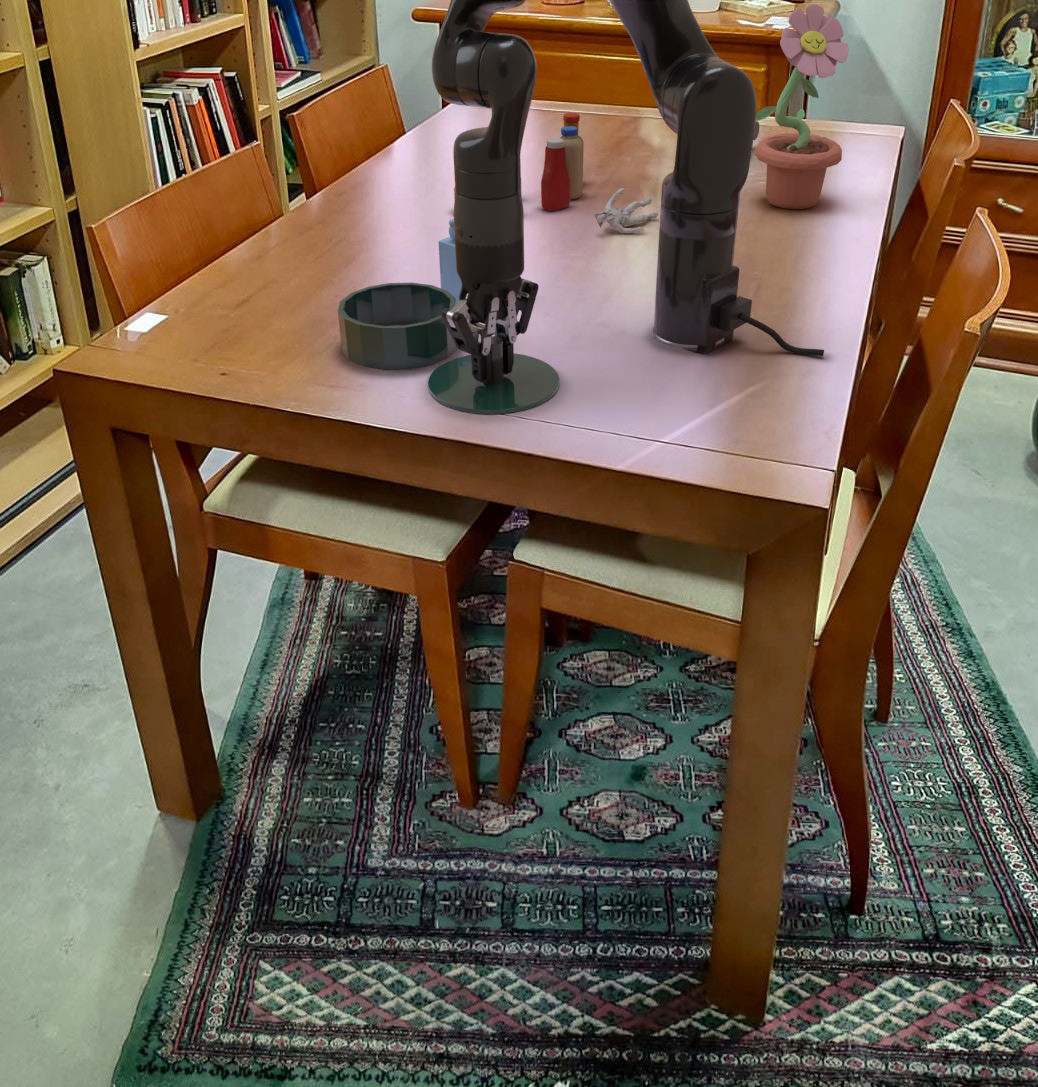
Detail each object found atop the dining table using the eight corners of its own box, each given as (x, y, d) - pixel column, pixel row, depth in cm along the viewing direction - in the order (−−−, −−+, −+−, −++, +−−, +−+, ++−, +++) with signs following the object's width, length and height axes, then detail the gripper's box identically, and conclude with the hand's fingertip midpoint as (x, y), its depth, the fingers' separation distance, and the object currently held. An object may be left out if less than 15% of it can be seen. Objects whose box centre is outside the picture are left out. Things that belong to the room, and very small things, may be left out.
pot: (481, 347, 142) (479, 302, 139) (395, 385, 134) (391, 338, 130) (405, 317, 151) (402, 274, 147) (320, 351, 142) (314, 306, 139)
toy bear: (484, 301, 155) (482, 217, 148) (463, 310, 152) (460, 224, 146) (462, 293, 157) (458, 210, 151) (441, 301, 155) (436, 217, 148)
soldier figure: (667, 230, 181) (628, 226, 172) (644, 246, 184) (605, 243, 174) (646, 188, 182) (607, 181, 172) (624, 205, 185) (584, 200, 175)
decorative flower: (767, 220, 181) (790, 17, 164) (730, 195, 192) (747, 2, 175) (850, 211, 184) (881, 11, 167) (809, 187, 195) (834, -4, 178)
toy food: (571, 179, 201) (572, 109, 194) (615, 197, 192) (618, 124, 185) (443, 207, 189) (439, 133, 182) (484, 228, 180) (481, 151, 173)
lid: (586, 385, 133) (587, 337, 130) (494, 432, 124) (493, 382, 120) (493, 349, 142) (491, 303, 138) (401, 390, 133) (397, 342, 129)
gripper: (467, 256, 116) (473, 407, 126) (558, 222, 124) (557, 366, 134) (418, 240, 120) (427, 386, 130) (509, 208, 129) (511, 348, 138)
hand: (493, 375), depth 132 cm, fingers open, 3 cm apart
